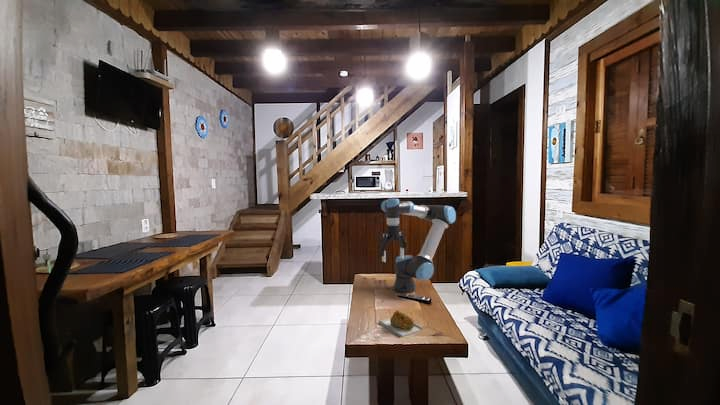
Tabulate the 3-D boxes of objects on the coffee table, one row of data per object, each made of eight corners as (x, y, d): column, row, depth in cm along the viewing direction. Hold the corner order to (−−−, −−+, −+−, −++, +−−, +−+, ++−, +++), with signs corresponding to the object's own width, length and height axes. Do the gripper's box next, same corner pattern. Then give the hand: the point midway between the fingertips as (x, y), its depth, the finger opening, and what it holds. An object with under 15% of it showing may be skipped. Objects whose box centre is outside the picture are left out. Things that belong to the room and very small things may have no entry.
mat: (399, 316, 166) (399, 314, 166) (422, 329, 151) (422, 327, 151) (378, 322, 159) (378, 320, 159) (400, 337, 144) (400, 334, 144)
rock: (402, 329, 158) (415, 317, 157) (404, 340, 150) (419, 326, 149) (386, 316, 157) (400, 303, 155) (388, 326, 149) (402, 312, 147)
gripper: (405, 222, 191) (405, 256, 192) (371, 225, 178) (372, 261, 179) (413, 223, 185) (413, 258, 186) (379, 227, 172) (379, 264, 173)
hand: (393, 260), depth 183 cm, fingers open, 13 cm apart
